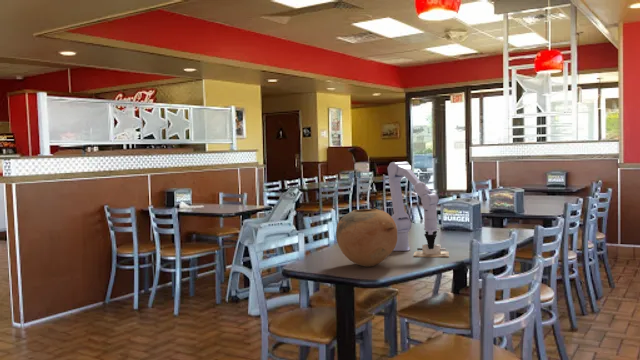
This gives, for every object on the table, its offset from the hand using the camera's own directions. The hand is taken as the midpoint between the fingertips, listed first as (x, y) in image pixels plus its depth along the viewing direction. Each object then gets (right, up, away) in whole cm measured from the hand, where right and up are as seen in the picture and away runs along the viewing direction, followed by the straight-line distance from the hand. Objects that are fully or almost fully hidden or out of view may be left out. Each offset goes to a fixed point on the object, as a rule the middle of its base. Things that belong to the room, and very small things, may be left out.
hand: (431, 247), depth 264 cm
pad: (0, -4, 0) cm, 4 cm away
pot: (-32, -6, -18) cm, 37 cm away
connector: (0, -3, 0) cm, 3 cm away
